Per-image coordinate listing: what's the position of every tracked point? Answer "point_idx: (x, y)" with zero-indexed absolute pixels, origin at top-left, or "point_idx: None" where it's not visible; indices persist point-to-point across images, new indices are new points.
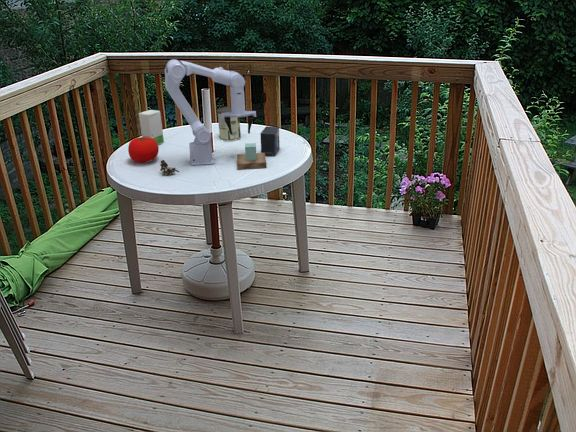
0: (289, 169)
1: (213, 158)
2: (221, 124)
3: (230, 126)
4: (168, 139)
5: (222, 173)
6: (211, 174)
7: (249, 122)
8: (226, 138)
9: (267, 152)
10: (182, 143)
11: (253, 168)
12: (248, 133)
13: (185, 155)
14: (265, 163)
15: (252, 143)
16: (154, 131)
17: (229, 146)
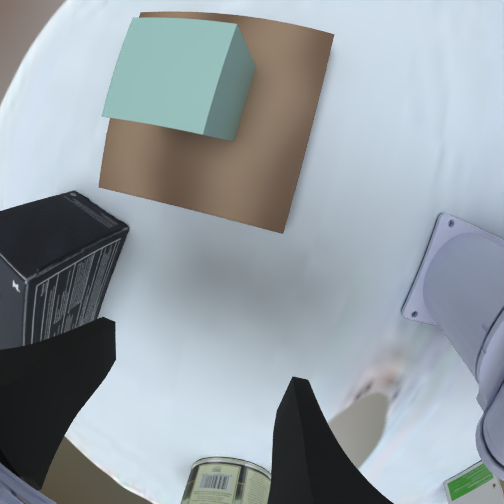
0: (76, 2)
1: (415, 290)
2: None
3: (308, 449)
4: (416, 498)
5: (422, 44)
6: (473, 67)
7: (6, 369)
8: (253, 473)
9: (87, 212)
10: (407, 478)
11: None
12: (111, 321)
13: (473, 384)
14: (148, 14)
15: (131, 112)
16: (486, 499)
17: (261, 423)
